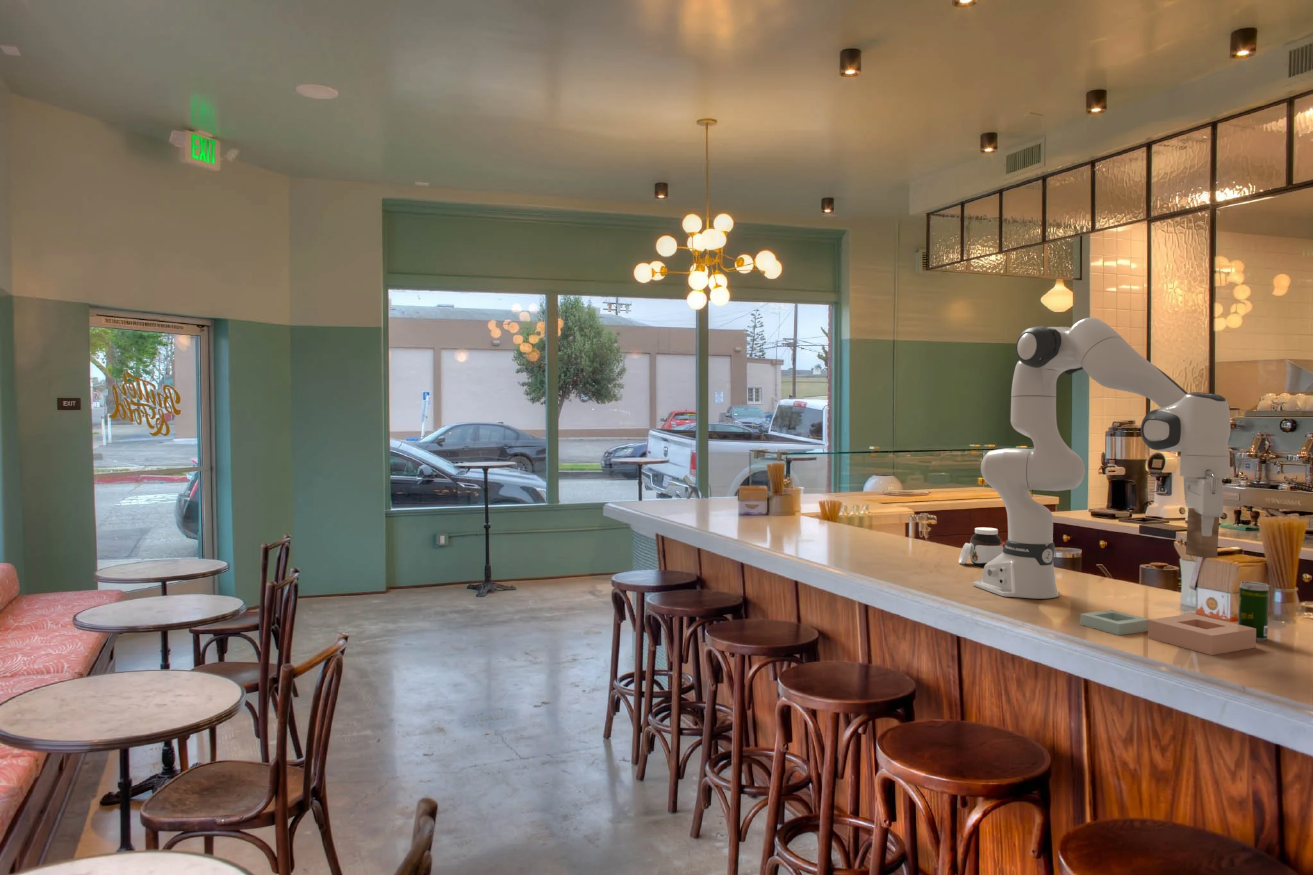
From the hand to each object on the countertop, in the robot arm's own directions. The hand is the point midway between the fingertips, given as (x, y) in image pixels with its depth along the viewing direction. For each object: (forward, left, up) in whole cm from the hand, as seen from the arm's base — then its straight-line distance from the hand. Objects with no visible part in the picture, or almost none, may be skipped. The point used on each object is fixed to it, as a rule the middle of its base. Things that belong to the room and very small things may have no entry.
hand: (1202, 533), depth 183 cm
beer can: (+2, +14, -24) cm, 28 cm away
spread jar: (-87, +22, -24) cm, 93 cm away
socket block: (0, 0, -23) cm, 23 cm away
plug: (0, 0, -5) cm, 5 cm away
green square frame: (-16, -6, -23) cm, 29 cm away
